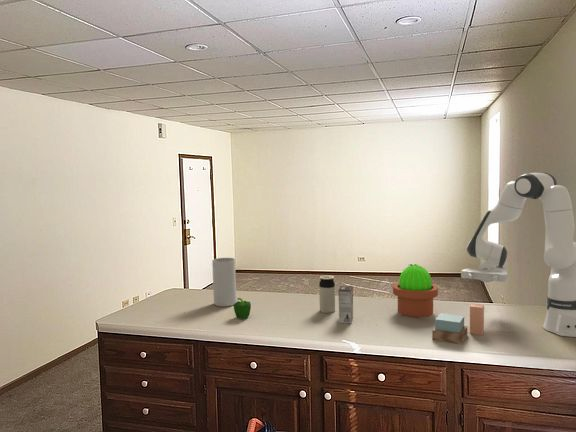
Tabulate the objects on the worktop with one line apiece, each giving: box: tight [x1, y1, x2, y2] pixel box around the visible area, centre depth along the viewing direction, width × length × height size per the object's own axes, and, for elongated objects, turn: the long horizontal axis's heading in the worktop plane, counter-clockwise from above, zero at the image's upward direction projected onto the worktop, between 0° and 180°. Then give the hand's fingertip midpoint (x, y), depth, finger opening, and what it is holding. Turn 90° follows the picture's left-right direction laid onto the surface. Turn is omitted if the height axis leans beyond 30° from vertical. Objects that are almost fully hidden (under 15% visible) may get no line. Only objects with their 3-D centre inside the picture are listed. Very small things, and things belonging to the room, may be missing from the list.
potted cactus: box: [392, 263, 439, 318], centre depth 237 cm, size 22×22×25 cm
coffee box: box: [338, 285, 354, 324], centre depth 228 cm, size 9×6×16 cm
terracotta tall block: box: [469, 303, 485, 336], centre depth 207 cm, size 5×5×12 cm
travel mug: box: [318, 275, 336, 314], centre depth 244 cm, size 8×8×18 cm
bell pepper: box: [233, 297, 252, 320], centre depth 237 cm, size 8×8×10 cm
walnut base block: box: [431, 325, 468, 345], centre depth 202 cm, size 12×12×4 cm
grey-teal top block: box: [434, 312, 465, 333], centre depth 202 cm, size 10×10×4 cm
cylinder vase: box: [211, 257, 237, 308], centre depth 262 cm, size 12×12×25 cm
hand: (481, 278), depth 216 cm, fingers open, 8 cm apart
